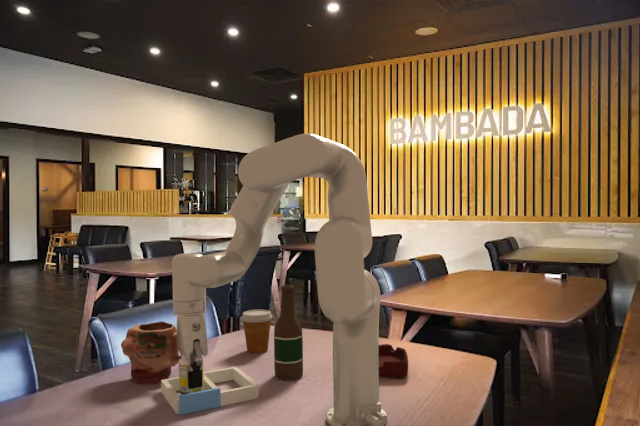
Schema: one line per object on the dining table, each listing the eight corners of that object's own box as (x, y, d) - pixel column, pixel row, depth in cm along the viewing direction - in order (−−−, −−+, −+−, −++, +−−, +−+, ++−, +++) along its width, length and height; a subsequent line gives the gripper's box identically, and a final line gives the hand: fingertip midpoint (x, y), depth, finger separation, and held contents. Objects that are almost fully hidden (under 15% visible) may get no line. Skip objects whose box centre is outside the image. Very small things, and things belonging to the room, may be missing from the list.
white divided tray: (260, 397, 119) (259, 380, 118) (177, 415, 109) (177, 397, 109) (236, 378, 132) (235, 362, 132) (161, 392, 123) (160, 375, 123)
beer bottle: (299, 382, 129) (298, 288, 128) (270, 380, 130) (268, 287, 130) (306, 372, 136) (305, 283, 136) (278, 370, 138) (277, 282, 138)
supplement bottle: (205, 388, 121) (204, 346, 121) (202, 397, 116) (201, 352, 116) (181, 389, 121) (180, 347, 121) (177, 398, 115) (176, 354, 115)
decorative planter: (202, 370, 139) (201, 320, 138) (187, 386, 127) (186, 331, 126) (131, 370, 140) (130, 320, 140) (110, 386, 128) (109, 331, 128)
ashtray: (382, 389, 124) (382, 368, 124) (338, 372, 137) (338, 354, 136) (428, 372, 135) (428, 354, 135) (384, 359, 148) (383, 342, 148)
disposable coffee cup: (238, 349, 159) (237, 311, 159) (267, 345, 163) (266, 308, 163) (247, 357, 151) (246, 317, 150) (277, 352, 155) (276, 313, 154)
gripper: (217, 310, 112) (218, 391, 113) (195, 299, 127) (196, 370, 128) (183, 314, 109) (185, 398, 109) (165, 302, 124) (166, 375, 124)
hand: (191, 382), depth 118 cm, fingers closed on supplement bottle, 5 cm apart
